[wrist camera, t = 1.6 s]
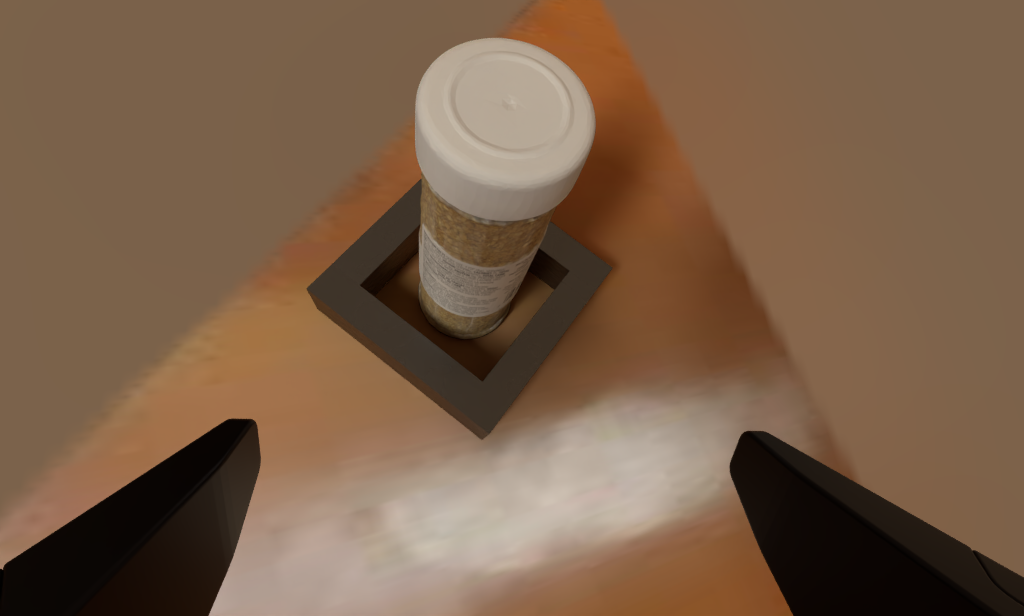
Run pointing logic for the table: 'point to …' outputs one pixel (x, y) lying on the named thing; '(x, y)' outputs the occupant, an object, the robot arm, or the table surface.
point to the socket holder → (417, 358)
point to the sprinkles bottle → (492, 173)
